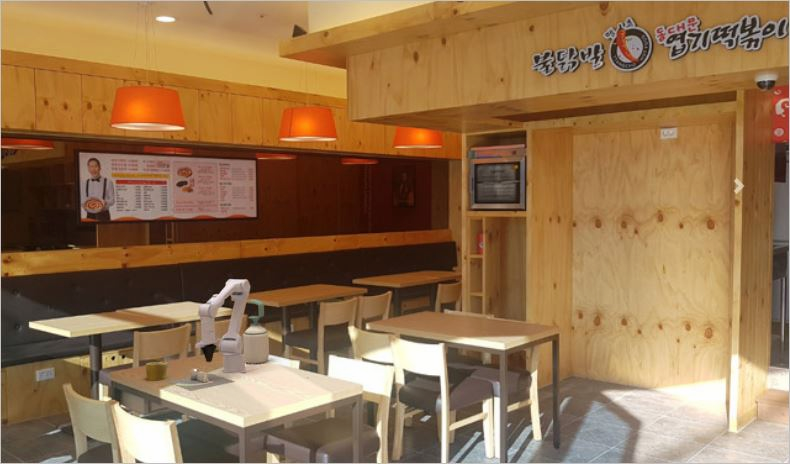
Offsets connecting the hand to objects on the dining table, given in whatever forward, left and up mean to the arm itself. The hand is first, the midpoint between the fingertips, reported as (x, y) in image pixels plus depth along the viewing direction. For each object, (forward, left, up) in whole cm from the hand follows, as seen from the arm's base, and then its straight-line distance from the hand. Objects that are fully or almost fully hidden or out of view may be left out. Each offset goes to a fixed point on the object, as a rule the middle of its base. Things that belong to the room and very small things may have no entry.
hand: (208, 361), depth 312 cm
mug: (+14, -21, -9) cm, 27 cm away
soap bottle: (-36, -19, -9) cm, 42 cm away
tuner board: (+5, +1, -9) cm, 10 cm away
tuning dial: (+4, -1, -8) cm, 9 cm away
